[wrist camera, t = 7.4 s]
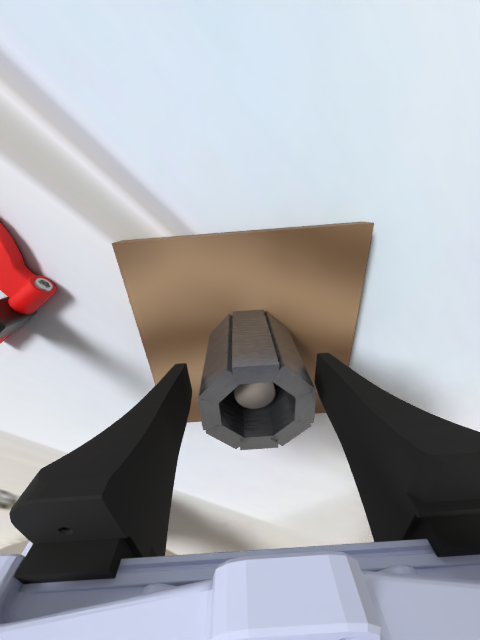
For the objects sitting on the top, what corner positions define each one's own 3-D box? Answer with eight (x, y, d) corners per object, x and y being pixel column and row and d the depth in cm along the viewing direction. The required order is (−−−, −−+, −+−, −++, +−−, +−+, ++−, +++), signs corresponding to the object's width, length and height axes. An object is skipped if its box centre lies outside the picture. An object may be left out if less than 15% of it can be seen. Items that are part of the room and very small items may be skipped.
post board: (334, 400, 19) (370, 469, 14) (171, 411, 19) (148, 484, 14) (362, 221, 13) (445, 230, 8) (121, 240, 13) (50, 260, 8)
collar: (287, 373, 16) (310, 445, 11) (215, 378, 16) (207, 452, 11) (289, 307, 14) (320, 361, 9) (206, 313, 14) (191, 370, 9)
